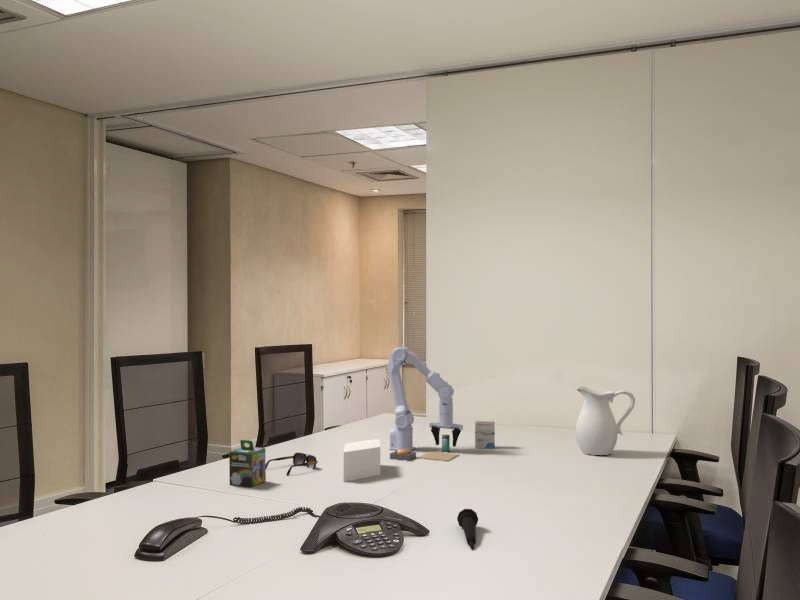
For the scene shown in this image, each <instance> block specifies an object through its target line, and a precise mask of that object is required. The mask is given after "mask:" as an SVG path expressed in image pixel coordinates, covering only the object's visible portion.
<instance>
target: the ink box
mask: <svg viewBox="0 0 800 600" xmlns="http://www.w3.org/2000/svg"><path fill="white" fill-rule="evenodd" d="M474 423H475V425H474V448H475V449H493V448H494V449H495V448H496V447H495V445H496V444H495V442H496V441H495V439H496V437H495V432H496V431H495V426H496V425H495V420H490V419H489V420H487V419H486V420H483V419H482V420H481V419H475V421H474Z"/></svg>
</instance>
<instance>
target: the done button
mask: <svg viewBox="0 0 800 600" xmlns="http://www.w3.org/2000/svg"><path fill="white" fill-rule="evenodd" d="M396 451H397V454H405V455H407V454H409V449H397V450H396Z"/></svg>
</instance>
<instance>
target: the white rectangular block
mask: <svg viewBox="0 0 800 600" xmlns="http://www.w3.org/2000/svg"><path fill="white" fill-rule="evenodd" d="M376 475H377V476H380V475H381V441H380V438H374V439H368V440H360V441H354V442H346V443H345V442H344V449H343V479H342V481H343V482H348V481H354V480H360V478H361V479H365V478H371V476H372V477H376Z"/></svg>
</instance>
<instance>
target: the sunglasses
mask: <svg viewBox="0 0 800 600" xmlns="http://www.w3.org/2000/svg"><path fill="white" fill-rule="evenodd" d="M289 459H292V464H293V465H291V466H290V467H289V468H288V470H287V472H286V476H287V477H288V476H289V475H290V474H291V471H292V468H296V467H303V466H306V467H307V468H308V469H311V470H315V469H316V467H317V464H318V463H319V460H317V457H316V456H315V455H312V454H308V453H304V452H295V453H293V455H289V456H283V457H277V458H271V459H268V461H266V462H265V464H266V469H267V468H268V466H269V463H270V462H274V461H282V460H284V461H285V460H289Z"/></svg>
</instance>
